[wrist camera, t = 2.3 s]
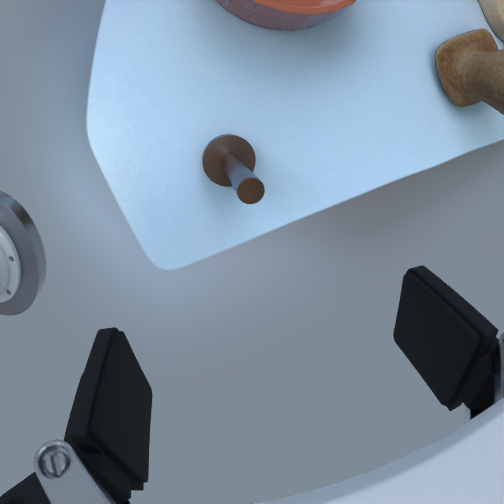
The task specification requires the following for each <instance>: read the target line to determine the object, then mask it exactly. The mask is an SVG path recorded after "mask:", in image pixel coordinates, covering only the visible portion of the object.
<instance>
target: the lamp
mask: <svg viewBox="0 0 504 504" xmlns="http://www.w3.org/2000/svg"><path fill="white" fill-rule="evenodd" d="M479 3H480V5H481V7H482V10H483V12H484V15H485V17H486V19H487V21H488V23H489V25H490V27H491V28H492V30H493V31H494V33H495V34H496V35H497V36H498V37H499V38H500V39H501V40H502V41H504V0H479Z"/></svg>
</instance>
